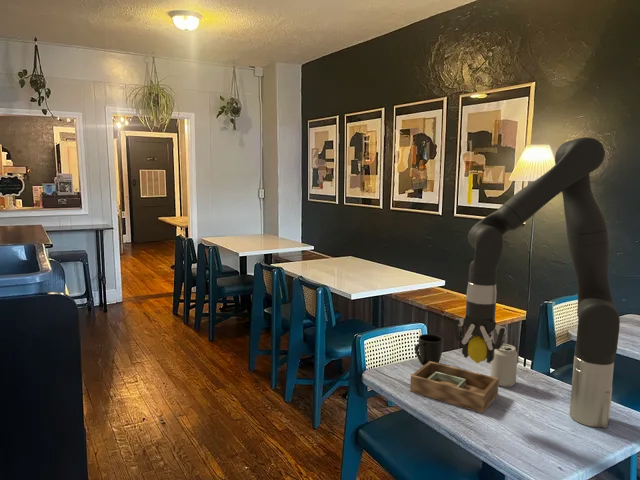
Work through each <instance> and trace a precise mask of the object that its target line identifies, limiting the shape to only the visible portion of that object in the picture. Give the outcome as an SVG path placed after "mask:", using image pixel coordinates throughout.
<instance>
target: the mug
mask: <svg viewBox="0 0 640 480" xmlns="http://www.w3.org/2000/svg"><path fill="white" fill-rule="evenodd" d="M443 349H444V338H443V336H440V335H437V334H432V333H431V334H430V333H425V334H420V335H419V336H418V343H417V344H415V346H414V352H415V355H416V357H417V359H418V362H419V363H420V365H422V367H423V366H424V365H425V364H426V363H428V362H429V361H431V362H435V363H439V364H440V360H441V357H442V355H443Z"/></svg>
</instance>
